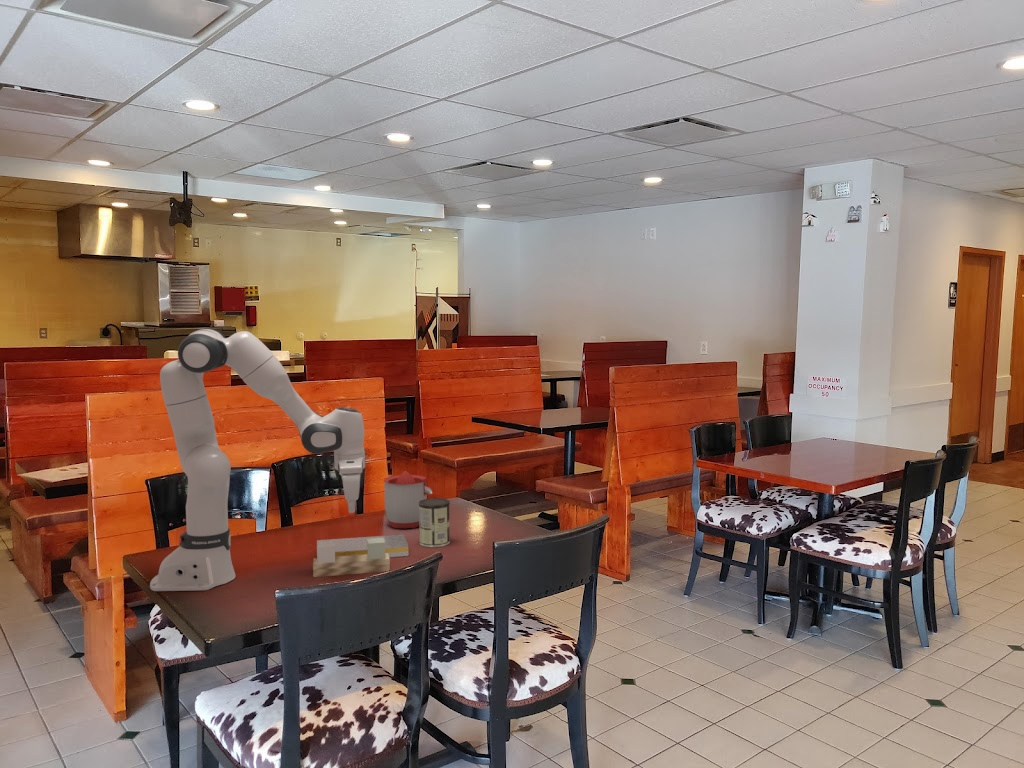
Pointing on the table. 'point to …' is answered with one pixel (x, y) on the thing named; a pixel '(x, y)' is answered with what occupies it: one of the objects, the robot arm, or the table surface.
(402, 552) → the dock
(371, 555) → the pale green cube
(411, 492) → the citrus juicer
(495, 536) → the table surface
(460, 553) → the table surface
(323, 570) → the checkered beige brown block
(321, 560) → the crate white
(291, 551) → the table surface
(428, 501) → the coffee can
